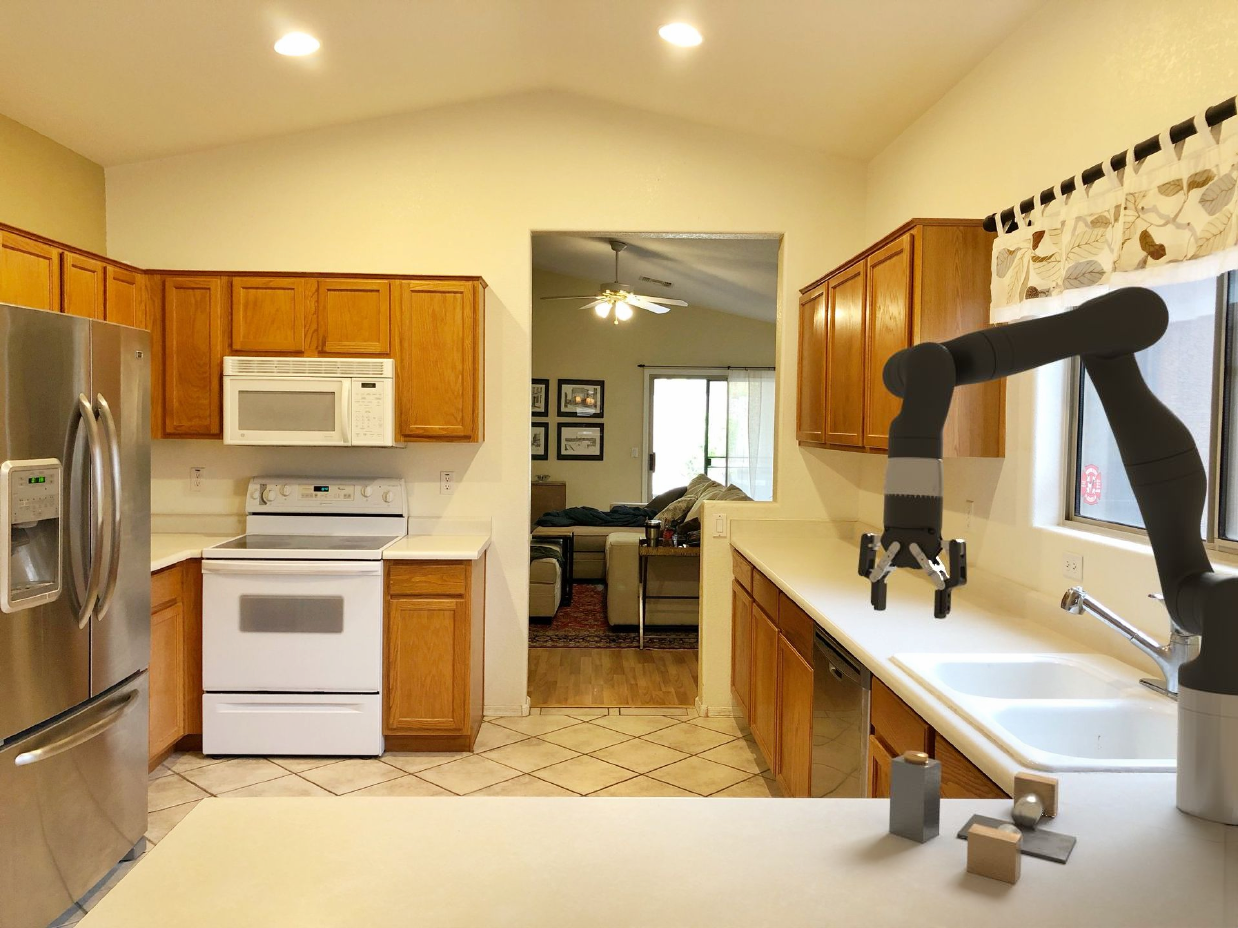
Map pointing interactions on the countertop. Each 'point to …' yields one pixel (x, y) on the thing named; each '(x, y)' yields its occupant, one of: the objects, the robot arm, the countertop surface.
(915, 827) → the gold-capped grey pillar
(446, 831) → the countertop surface
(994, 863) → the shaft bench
